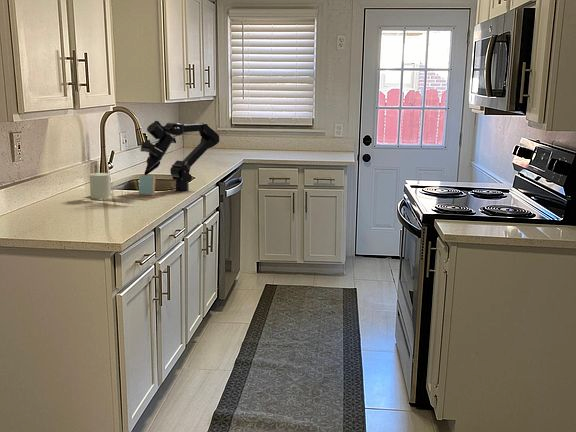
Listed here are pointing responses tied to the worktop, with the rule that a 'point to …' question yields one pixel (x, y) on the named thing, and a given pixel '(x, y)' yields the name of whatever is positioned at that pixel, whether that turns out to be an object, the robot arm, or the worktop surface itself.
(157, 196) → the board
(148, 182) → the tile
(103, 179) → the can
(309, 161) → the worktop surface
